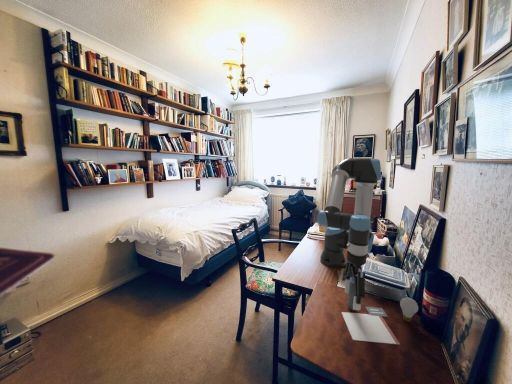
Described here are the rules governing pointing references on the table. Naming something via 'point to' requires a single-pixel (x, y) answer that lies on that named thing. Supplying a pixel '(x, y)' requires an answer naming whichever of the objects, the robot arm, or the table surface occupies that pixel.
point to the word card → (376, 311)
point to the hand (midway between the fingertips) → (351, 300)
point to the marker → (351, 294)
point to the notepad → (369, 328)
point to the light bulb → (408, 308)
